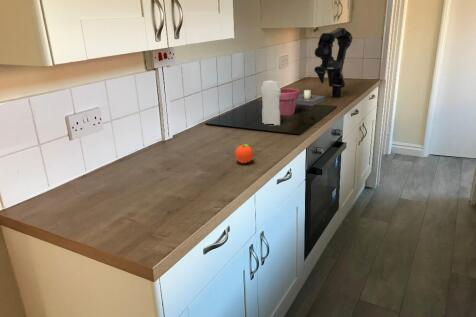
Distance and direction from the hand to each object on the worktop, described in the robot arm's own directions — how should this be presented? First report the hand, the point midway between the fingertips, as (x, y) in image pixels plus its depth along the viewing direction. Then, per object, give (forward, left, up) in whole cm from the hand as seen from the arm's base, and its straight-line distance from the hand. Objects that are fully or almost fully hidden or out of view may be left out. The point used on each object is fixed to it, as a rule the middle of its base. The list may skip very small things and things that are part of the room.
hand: (326, 81), depth 240 cm
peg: (+6, -9, -12) cm, 16 cm away
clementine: (+108, +21, -12) cm, 111 cm away
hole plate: (+6, -9, -12) cm, 16 cm away
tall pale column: (+59, 0, -12) cm, 60 cm away
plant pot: (+37, -5, -12) cm, 39 cm away
